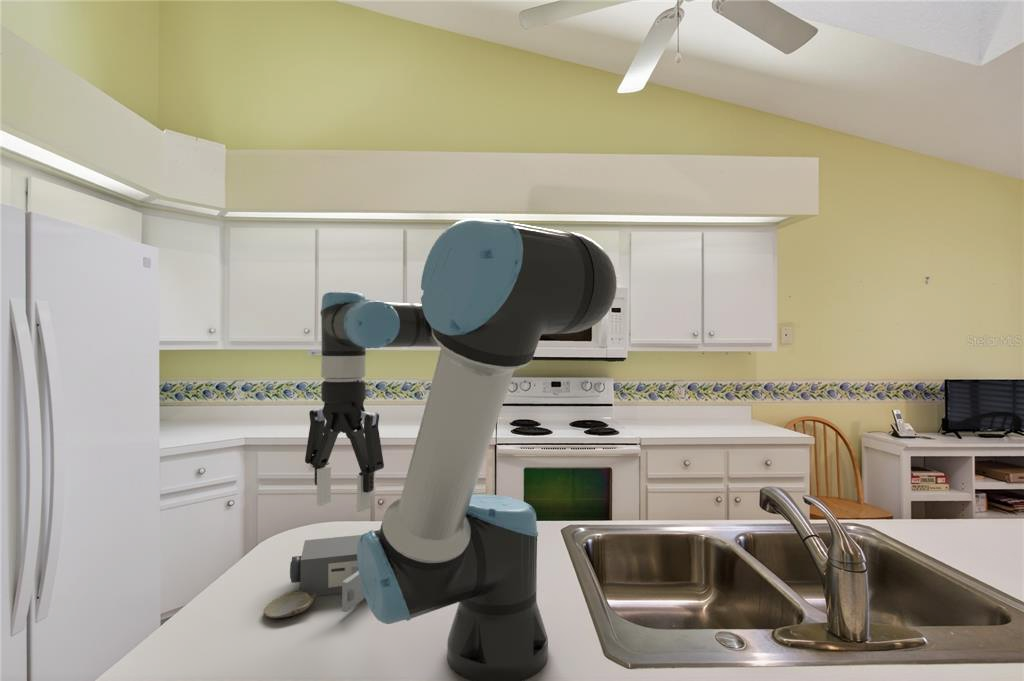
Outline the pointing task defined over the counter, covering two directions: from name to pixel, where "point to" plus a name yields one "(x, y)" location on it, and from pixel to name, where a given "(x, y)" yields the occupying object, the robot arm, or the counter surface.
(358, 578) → the side door
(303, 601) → the seashell
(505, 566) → the robot arm
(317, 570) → the camera body
